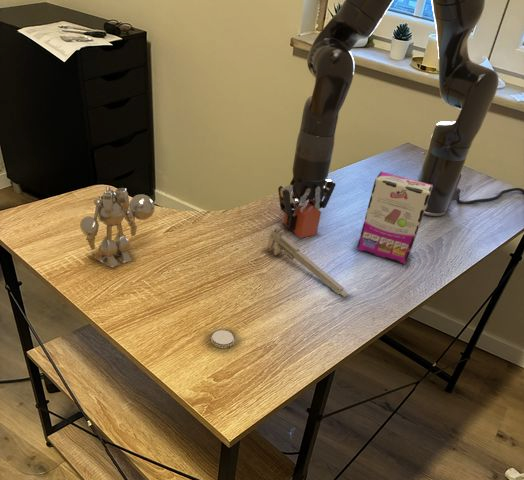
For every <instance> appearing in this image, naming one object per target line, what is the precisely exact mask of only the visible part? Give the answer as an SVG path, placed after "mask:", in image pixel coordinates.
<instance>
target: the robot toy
mask: <svg viewBox="0 0 524 480" xmlns="http://www.w3.org/2000/svg"><path fill="white" fill-rule="evenodd" d="M93 204H94V205H95V210H94V215H93V216H90V215H89V216H85V217H83V218H82V219H81V221H80V223H79V228H80V231H81V233H82V234H83V235H84V236H85V237H86V238H85V241H87V243H88V245H89V248H90V250H91V251H94V250H96V251H95V252H94V256H93V258H94V259H95V260H97V261H98V262H99V263H100V264H101V263H102V264H104V265H106V266H108V267H110V268H115V267H117V266H120V265H121V263H122V264H126V263H130V262H131V261H132V260H133V259H132V257H131V256H130V254H129V252H128V251H129V250H130V249H131V242H130V240H129V238H128V237H126V235H125V234H124V230H123V225H122V222H123V220H125V221H126V222H127V225H128V226H129V227H130V237H131V238H132V237H135V236H136V235H137V234H136V233H137V229H138V227H137V226H138V225H137V224H136V219H137V220H139V221H146V220H148V219H150V218H151V217H152V216H153V215H154V213H155V210H156V209H155V208H156V206H155V202H154V200H153V199H152V198H151V197H150V196H149V195H147V194H143V193H142V194H136V195H134V196H133V197H131V199H130V198H129V193H128V191H127V188H125V187H119V188H116V190H113V189H111V187H110V185H109V186H108V187H107V186H105V191H104V192H103V194H102V195H98V198H94V200H93ZM98 221H100V222H101V223H102V224H104V225H105V226H106V233H105V234H106V235H105V236H104V237H103V240H102V241H101V243H100V245H98V248H97V247H96V245H95V244H96V243H95V241H96V237H97V236H98V232H99V227H100V223H99V222H98ZM113 227H116V231H117V233H116V235H115V237H114V239H112V237H113V236H112V234H113ZM115 256H116V257H118V260H119V261H118V260H117V259H116V258H115Z"/></svg>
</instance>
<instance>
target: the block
mask: <svg viewBox="0 0 524 480" xmlns="http://www.w3.org/2000/svg"><path fill="white" fill-rule="evenodd" d="M297 200H298V201H299V199H298V198H297ZM294 207H295V205H294ZM293 209H294V208H293ZM321 216H322V211H321V210H318V209H317V208H315V207H314V206H313V205H312V204H310V203H309V201H308V200H306V201H305V202H304V205H303V207H301V208H300V210H299V212H298V214H297V222H296V227H295V230H294V231H292V232H293V233H294V234H295V235H296V236H297V237H298V238H300V239H303V238H308V237H313V236H316V235H317V234H318V229H319V223H320V219H321ZM286 221H287V214H286V213H284V216H283V224H284V225H285V226H286Z"/></svg>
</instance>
